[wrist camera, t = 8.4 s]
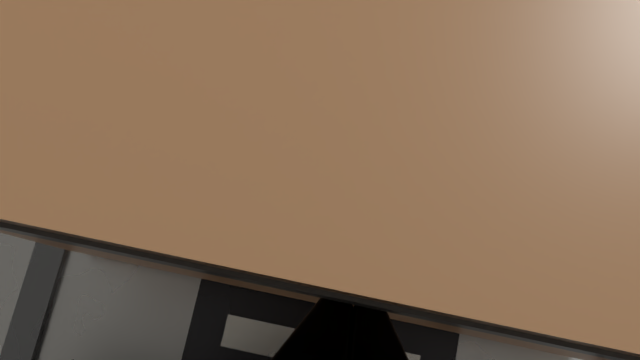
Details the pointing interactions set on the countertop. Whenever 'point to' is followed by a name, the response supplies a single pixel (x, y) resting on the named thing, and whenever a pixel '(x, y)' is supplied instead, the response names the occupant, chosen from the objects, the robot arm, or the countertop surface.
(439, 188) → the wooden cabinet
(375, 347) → the robot arm
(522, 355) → the label panel
